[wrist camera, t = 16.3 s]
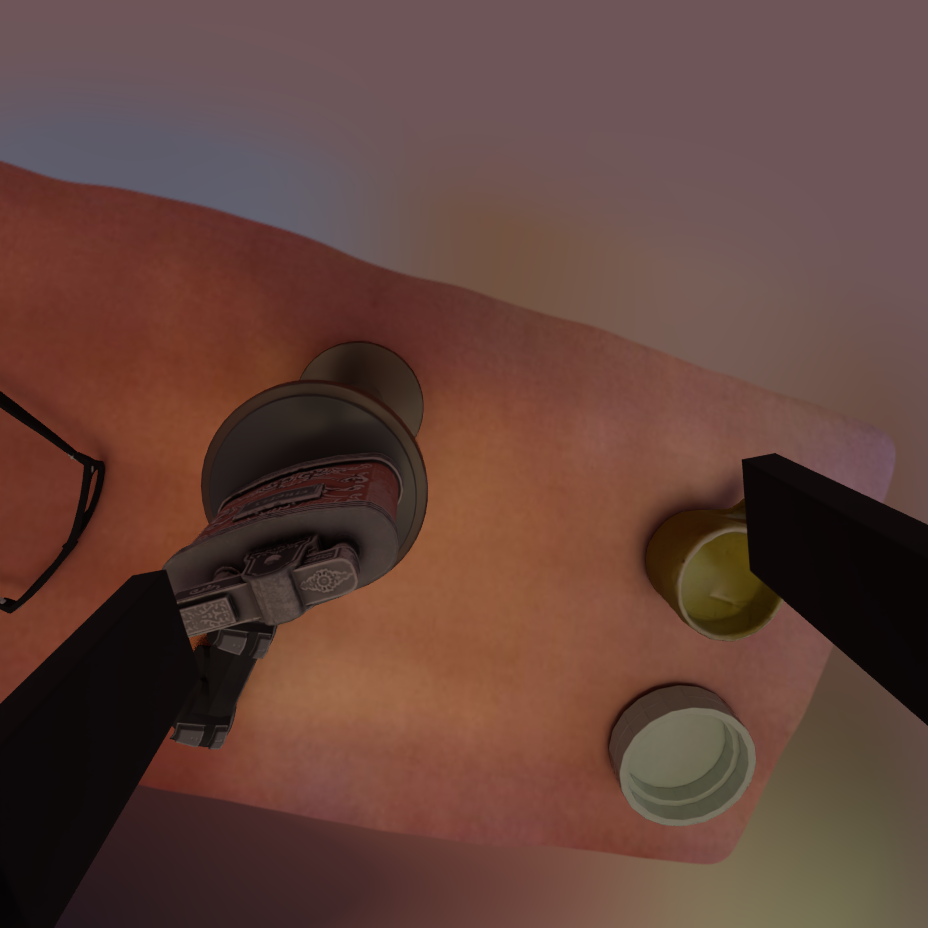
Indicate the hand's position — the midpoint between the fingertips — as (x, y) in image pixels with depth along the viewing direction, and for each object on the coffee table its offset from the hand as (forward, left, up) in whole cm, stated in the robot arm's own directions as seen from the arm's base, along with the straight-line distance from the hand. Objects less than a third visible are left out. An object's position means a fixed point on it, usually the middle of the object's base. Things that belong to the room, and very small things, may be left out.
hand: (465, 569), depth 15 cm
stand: (+6, +2, -39) cm, 39 cm away
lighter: (+6, +2, -14) cm, 16 cm away
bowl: (-16, +39, -39) cm, 57 cm away
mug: (-21, +19, -39) cm, 48 cm away
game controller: (+22, +19, -39) cm, 48 cm away
